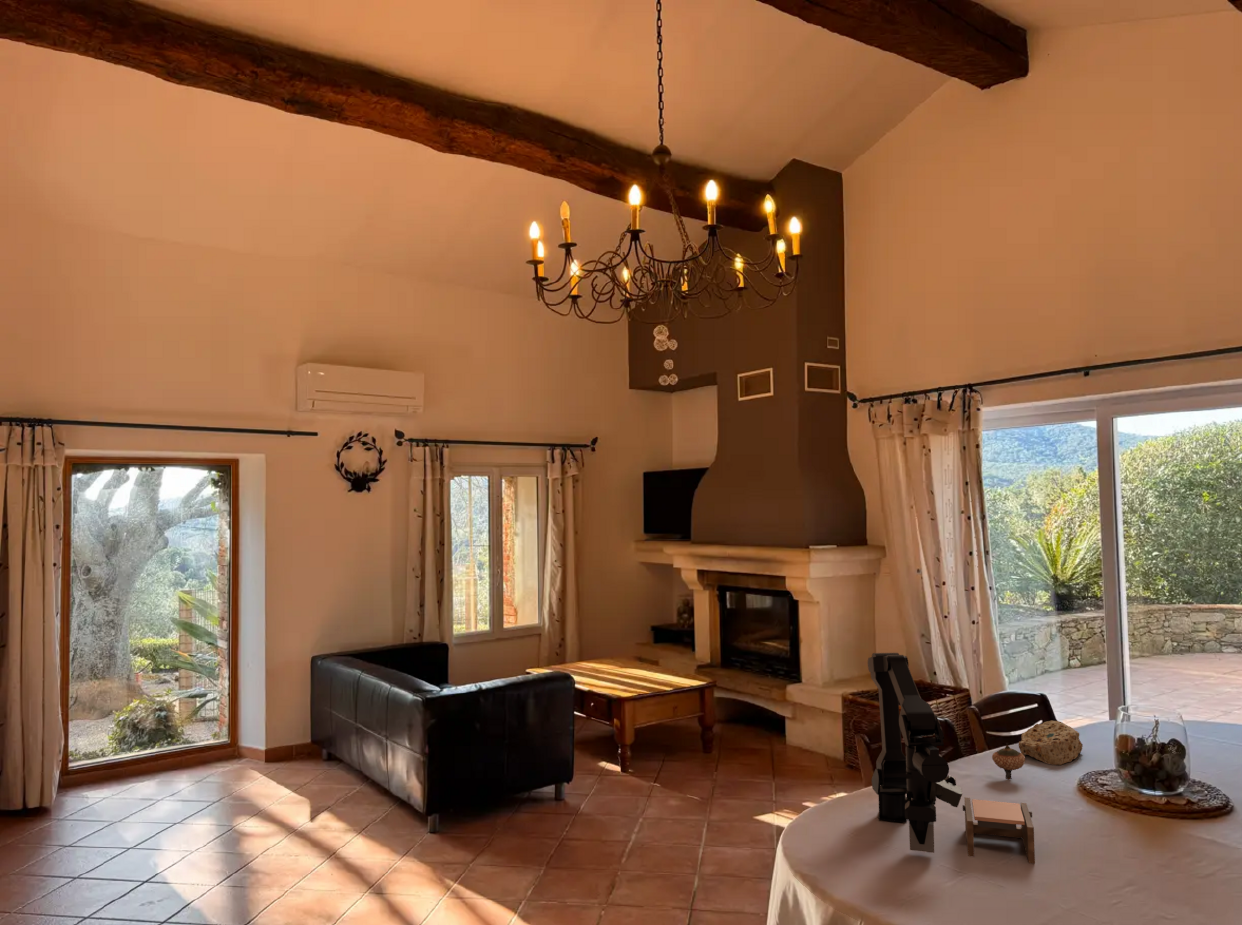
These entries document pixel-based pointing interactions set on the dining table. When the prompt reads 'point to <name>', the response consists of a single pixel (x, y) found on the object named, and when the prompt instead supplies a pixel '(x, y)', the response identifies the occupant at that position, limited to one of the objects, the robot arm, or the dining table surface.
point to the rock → (1051, 743)
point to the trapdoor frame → (1001, 831)
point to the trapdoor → (997, 814)
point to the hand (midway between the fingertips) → (921, 839)
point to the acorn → (1008, 760)
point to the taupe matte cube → (928, 841)
